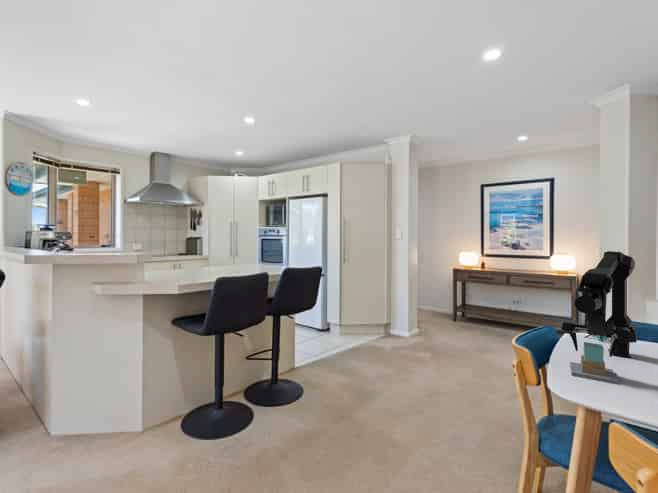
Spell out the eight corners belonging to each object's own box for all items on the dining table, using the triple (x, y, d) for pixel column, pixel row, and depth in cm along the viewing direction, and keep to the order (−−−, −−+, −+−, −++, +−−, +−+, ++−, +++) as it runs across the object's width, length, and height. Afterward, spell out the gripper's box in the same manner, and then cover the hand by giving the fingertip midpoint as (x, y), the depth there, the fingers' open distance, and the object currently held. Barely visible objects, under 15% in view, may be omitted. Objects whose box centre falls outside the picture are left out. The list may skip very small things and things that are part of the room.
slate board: (570, 364, 125) (570, 361, 125) (612, 372, 119) (612, 369, 119) (571, 375, 116) (571, 372, 116) (617, 384, 109) (617, 381, 109)
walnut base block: (580, 365, 121) (581, 354, 121) (602, 369, 118) (602, 358, 118) (582, 371, 116) (582, 360, 116) (604, 376, 113) (605, 364, 113)
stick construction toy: (603, 338, 148) (592, 321, 152) (586, 344, 152) (576, 327, 157) (611, 341, 155) (600, 325, 160) (594, 346, 159) (584, 330, 164)
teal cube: (583, 355, 120) (583, 341, 120) (601, 358, 118) (601, 344, 117) (584, 360, 116) (585, 345, 116) (603, 363, 114) (603, 348, 113)
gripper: (562, 310, 114) (560, 355, 115) (636, 318, 104) (633, 368, 105) (561, 303, 124) (560, 345, 125) (629, 310, 114) (627, 356, 114)
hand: (593, 353), depth 117 cm, fingers open, 9 cm apart
